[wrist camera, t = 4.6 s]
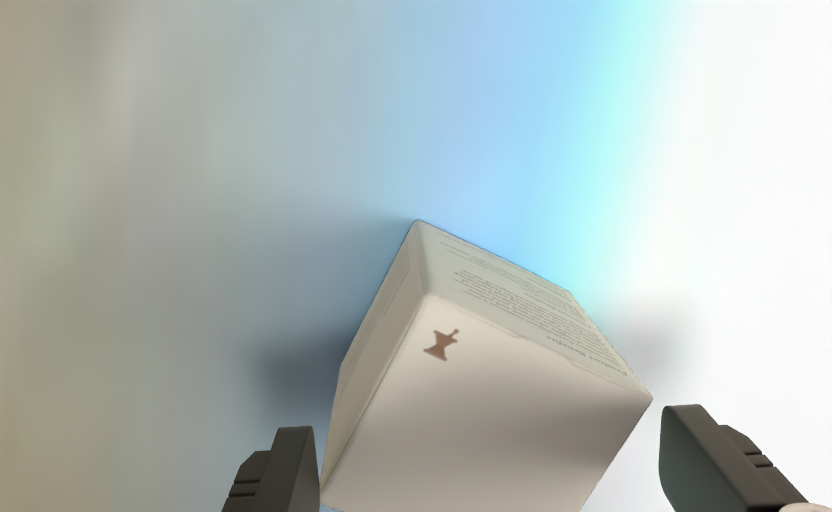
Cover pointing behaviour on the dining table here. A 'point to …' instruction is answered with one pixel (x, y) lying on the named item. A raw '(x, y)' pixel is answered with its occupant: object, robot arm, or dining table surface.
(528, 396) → the product box
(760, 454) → the robot arm
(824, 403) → the dining table surface
